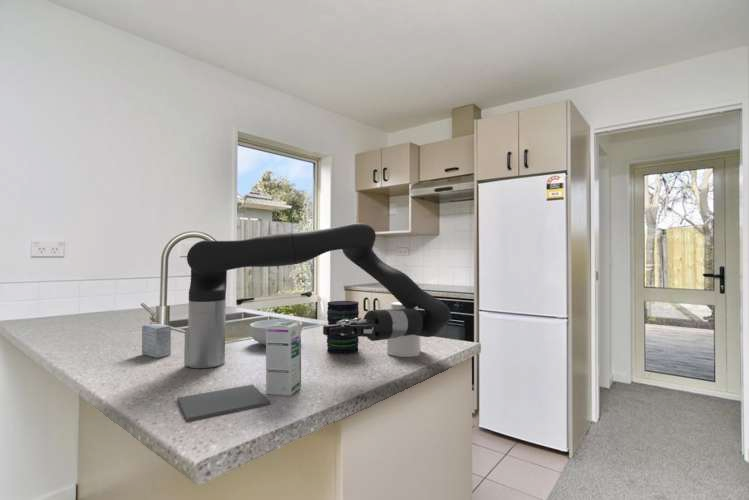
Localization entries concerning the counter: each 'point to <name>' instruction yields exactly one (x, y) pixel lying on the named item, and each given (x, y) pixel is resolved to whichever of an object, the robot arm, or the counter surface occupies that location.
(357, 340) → the storage jar
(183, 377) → the counter surface
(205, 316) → the robot arm
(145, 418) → the counter surface
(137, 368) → the counter surface
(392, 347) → the jar
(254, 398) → the mat
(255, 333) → the cereal bowl
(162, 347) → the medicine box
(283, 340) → the syrup box
